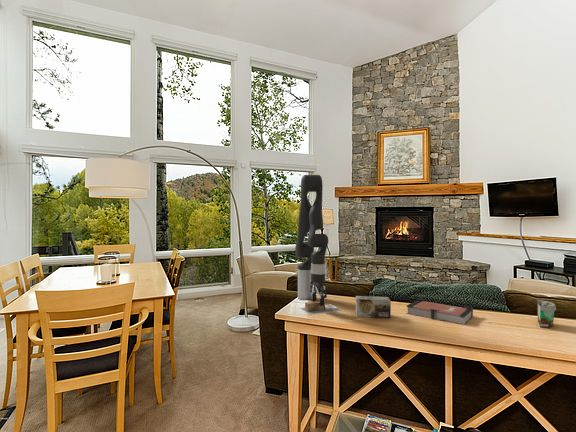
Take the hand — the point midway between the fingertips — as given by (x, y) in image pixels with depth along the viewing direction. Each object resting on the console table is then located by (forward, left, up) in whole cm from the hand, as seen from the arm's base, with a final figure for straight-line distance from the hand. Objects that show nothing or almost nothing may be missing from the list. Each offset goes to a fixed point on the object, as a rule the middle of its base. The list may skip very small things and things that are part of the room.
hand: (318, 303), depth 172 cm
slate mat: (0, +2, -4) cm, 4 cm away
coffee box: (+14, +14, +1) cm, 20 cm away
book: (+29, +52, -4) cm, 60 cm away
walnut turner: (0, +1, -3) cm, 3 cm away
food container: (+59, +84, -4) cm, 103 cm away
